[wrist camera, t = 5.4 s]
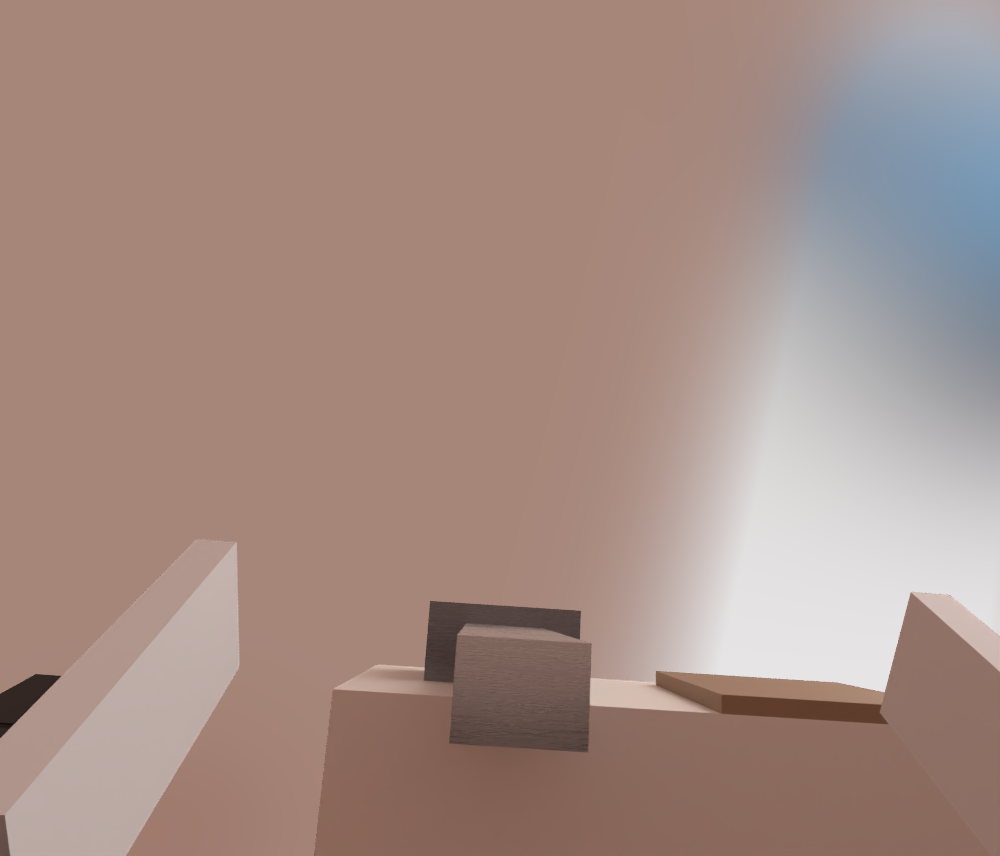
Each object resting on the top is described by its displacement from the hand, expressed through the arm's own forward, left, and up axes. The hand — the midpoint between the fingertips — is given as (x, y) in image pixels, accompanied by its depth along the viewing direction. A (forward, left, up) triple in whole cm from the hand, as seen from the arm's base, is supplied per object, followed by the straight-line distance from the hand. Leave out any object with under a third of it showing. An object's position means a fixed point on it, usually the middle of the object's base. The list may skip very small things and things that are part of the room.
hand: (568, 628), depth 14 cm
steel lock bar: (+15, -10, -4) cm, 19 cm away
